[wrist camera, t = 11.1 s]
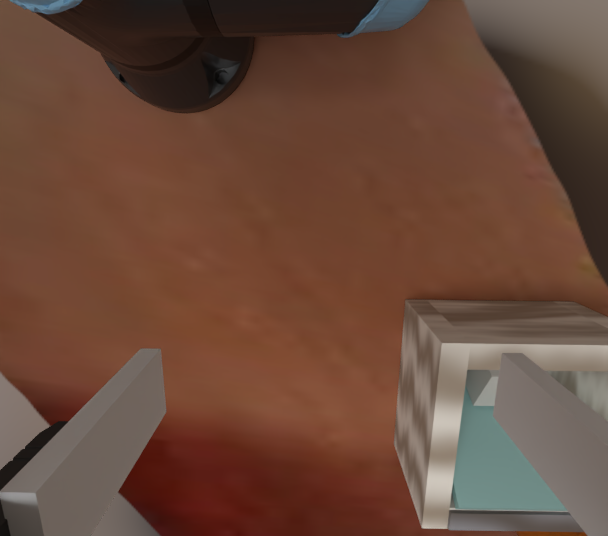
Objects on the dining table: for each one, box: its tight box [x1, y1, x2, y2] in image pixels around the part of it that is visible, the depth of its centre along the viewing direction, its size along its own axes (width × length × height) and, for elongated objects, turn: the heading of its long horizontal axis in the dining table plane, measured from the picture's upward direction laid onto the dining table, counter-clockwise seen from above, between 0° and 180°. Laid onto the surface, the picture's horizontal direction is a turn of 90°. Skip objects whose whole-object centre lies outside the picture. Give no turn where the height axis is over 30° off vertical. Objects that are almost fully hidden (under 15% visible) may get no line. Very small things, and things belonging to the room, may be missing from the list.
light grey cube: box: [466, 370, 551, 406], centre depth 41 cm, size 6×6×6 cm
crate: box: [394, 299, 608, 532], centre depth 40 cm, size 20×20×12 cm
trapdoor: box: [452, 384, 568, 511], centre depth 40 cm, size 14×14×1 cm
